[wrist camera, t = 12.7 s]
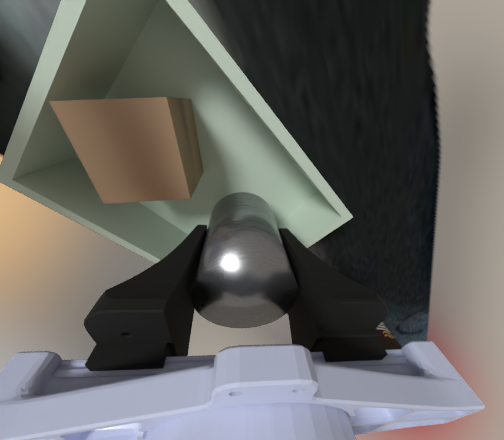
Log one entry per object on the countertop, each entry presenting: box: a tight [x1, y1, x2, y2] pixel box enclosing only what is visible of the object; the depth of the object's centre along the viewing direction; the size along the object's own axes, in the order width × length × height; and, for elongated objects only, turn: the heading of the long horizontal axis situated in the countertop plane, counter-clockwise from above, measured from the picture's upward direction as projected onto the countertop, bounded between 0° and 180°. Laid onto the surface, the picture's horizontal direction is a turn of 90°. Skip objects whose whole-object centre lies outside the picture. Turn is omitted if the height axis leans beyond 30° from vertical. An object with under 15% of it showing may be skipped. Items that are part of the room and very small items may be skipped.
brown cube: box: [49, 97, 204, 204], centre depth 11 cm, size 5×5×5 cm
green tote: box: [0, 0, 353, 264], centre depth 14 cm, size 17×13×5 cm
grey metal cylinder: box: [191, 192, 298, 328], centre depth 12 cm, size 5×5×7 cm
